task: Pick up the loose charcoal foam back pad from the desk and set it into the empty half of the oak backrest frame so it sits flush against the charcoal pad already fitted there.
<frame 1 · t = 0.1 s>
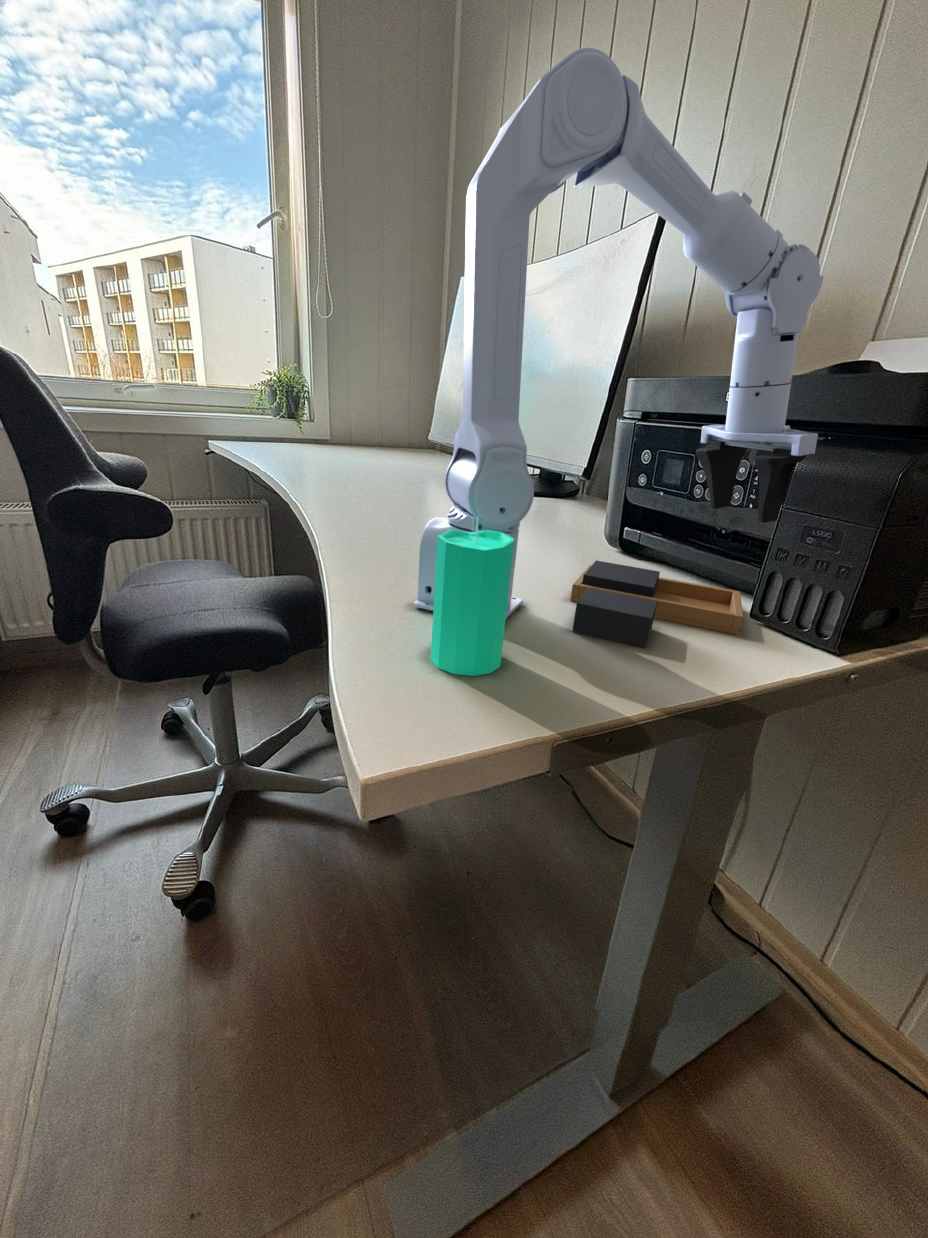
hand: (743, 513, 63), 11 cm above the table, tool pointing down, fingers open, 7 cm apart
pad a: (618, 597, 64), resting on frame
pad b: (612, 630, 55), on the table
candle: (465, 661, 46), on the table
frame: (654, 604, 63), on the table
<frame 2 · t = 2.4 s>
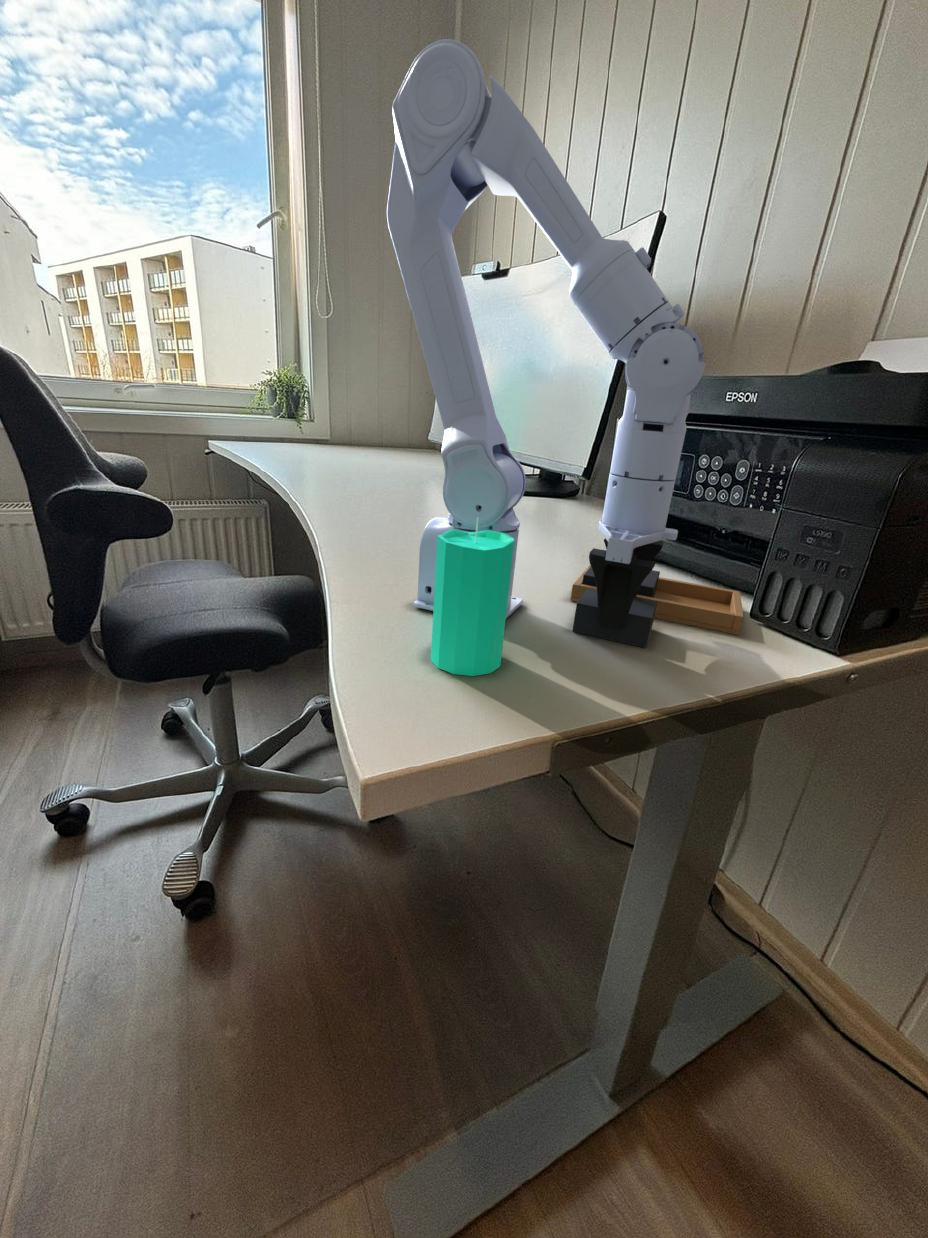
hand: (615, 617, 54), 1 cm above the table, tool pointing down, fingers closed on pad b, 5 cm apart
pad b: (612, 630, 55), on the table, touching gripper
everything else where it was.
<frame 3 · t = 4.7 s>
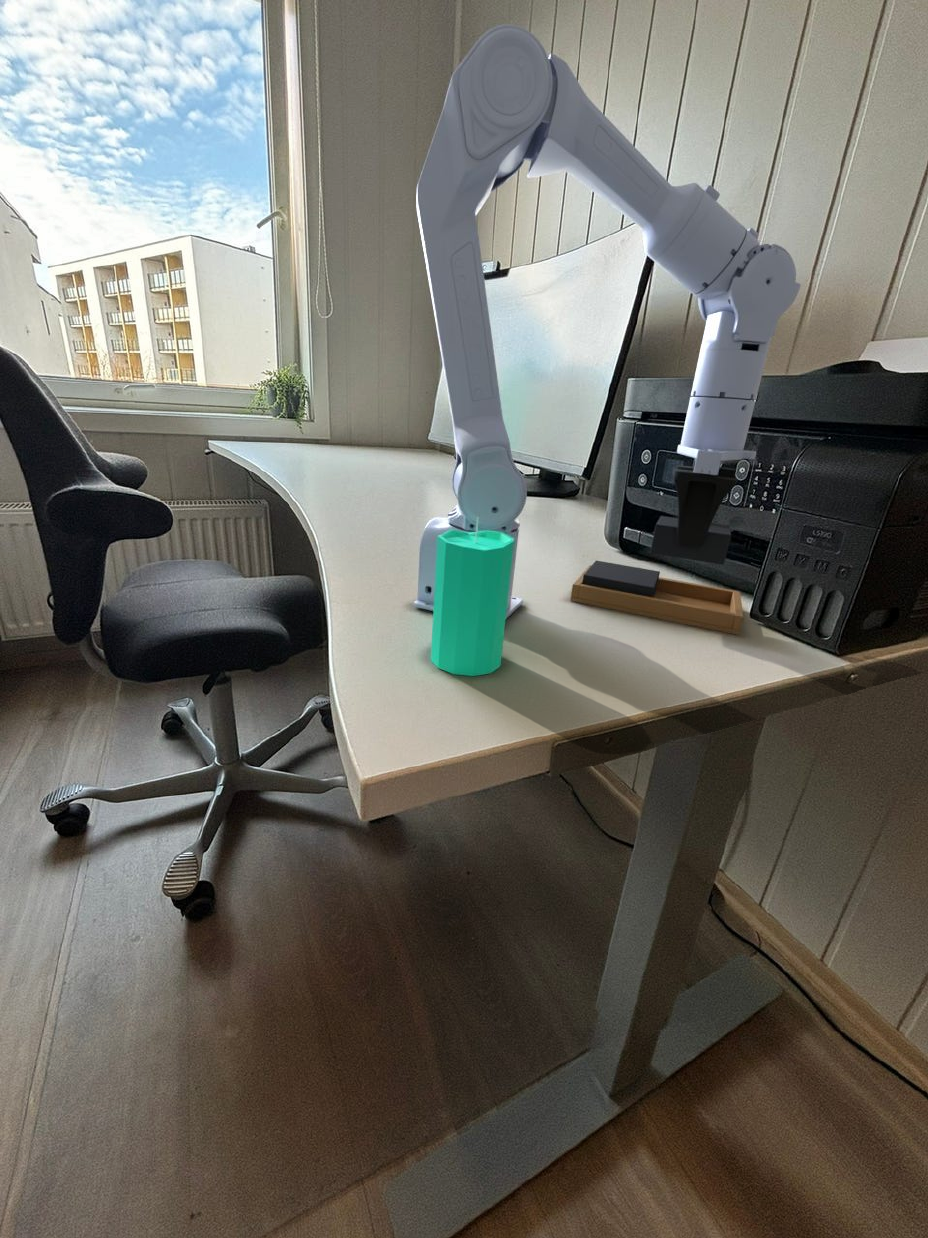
hand: (690, 539, 57), 8 cm above the table, tool pointing down, fingers closed on pad b, 5 cm apart
pad b: (687, 553, 57), point 7 cm above the table, touching gripper
everything else where it was.
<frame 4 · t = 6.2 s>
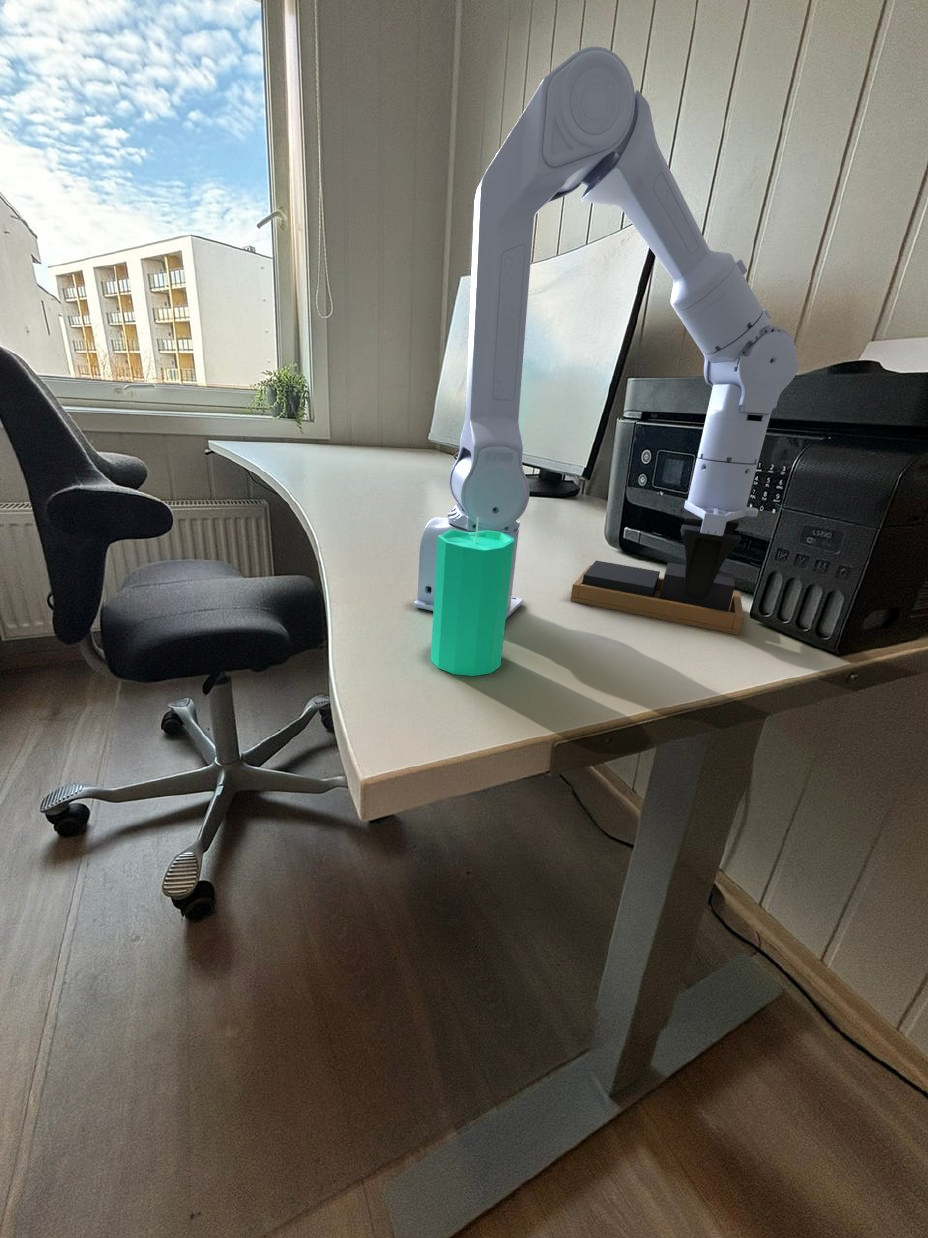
hand: (695, 587, 61), 3 cm above the table, tool pointing down, fingers closed on pad b, 5 cm apart
pad b: (693, 599, 61), point 1 cm above the table, touching gripper
everything else where it was.
when the fingers open (2 cm above the table, at t = 7.5 s): pad b stays where it is, resting on frame.
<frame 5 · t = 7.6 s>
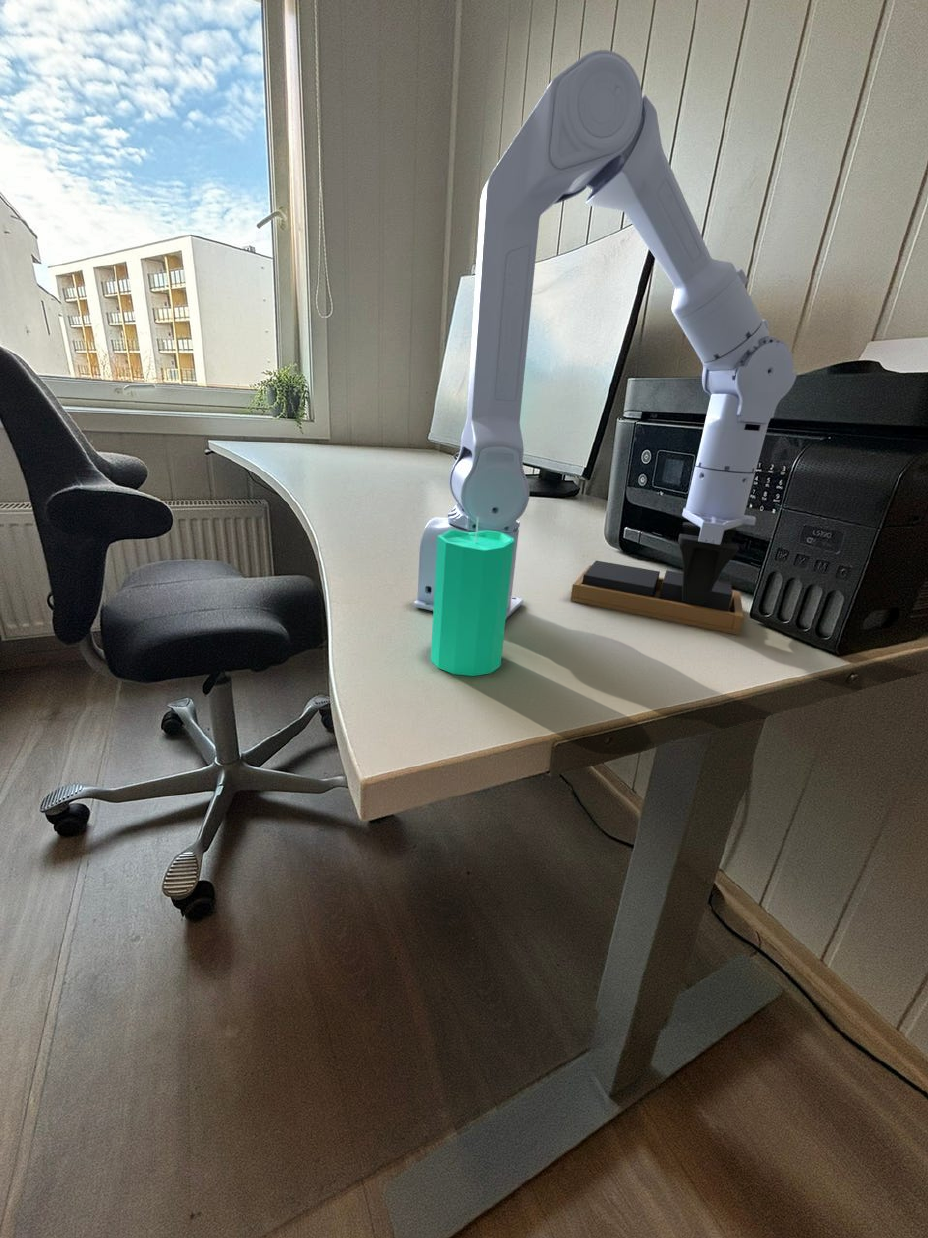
hand: (693, 594, 61), 2 cm above the table, tool pointing down, fingers open, 7 cm apart
pad b: (691, 607, 61), resting on frame
everything else where it was.
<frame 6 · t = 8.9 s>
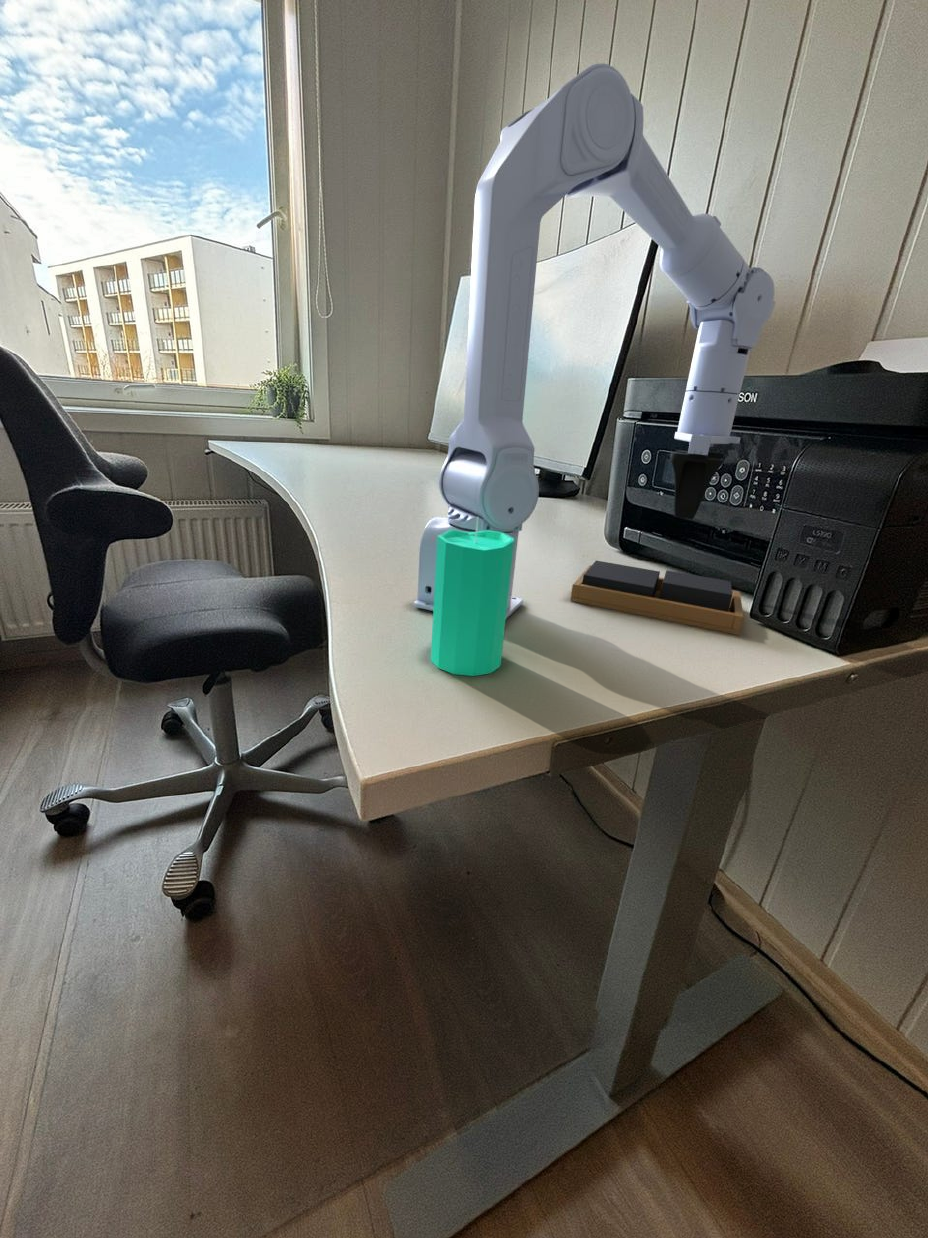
hand: (685, 512, 67), 9 cm above the table, tool pointing down, fingers open, 7 cm apart
nothing on the table moved.
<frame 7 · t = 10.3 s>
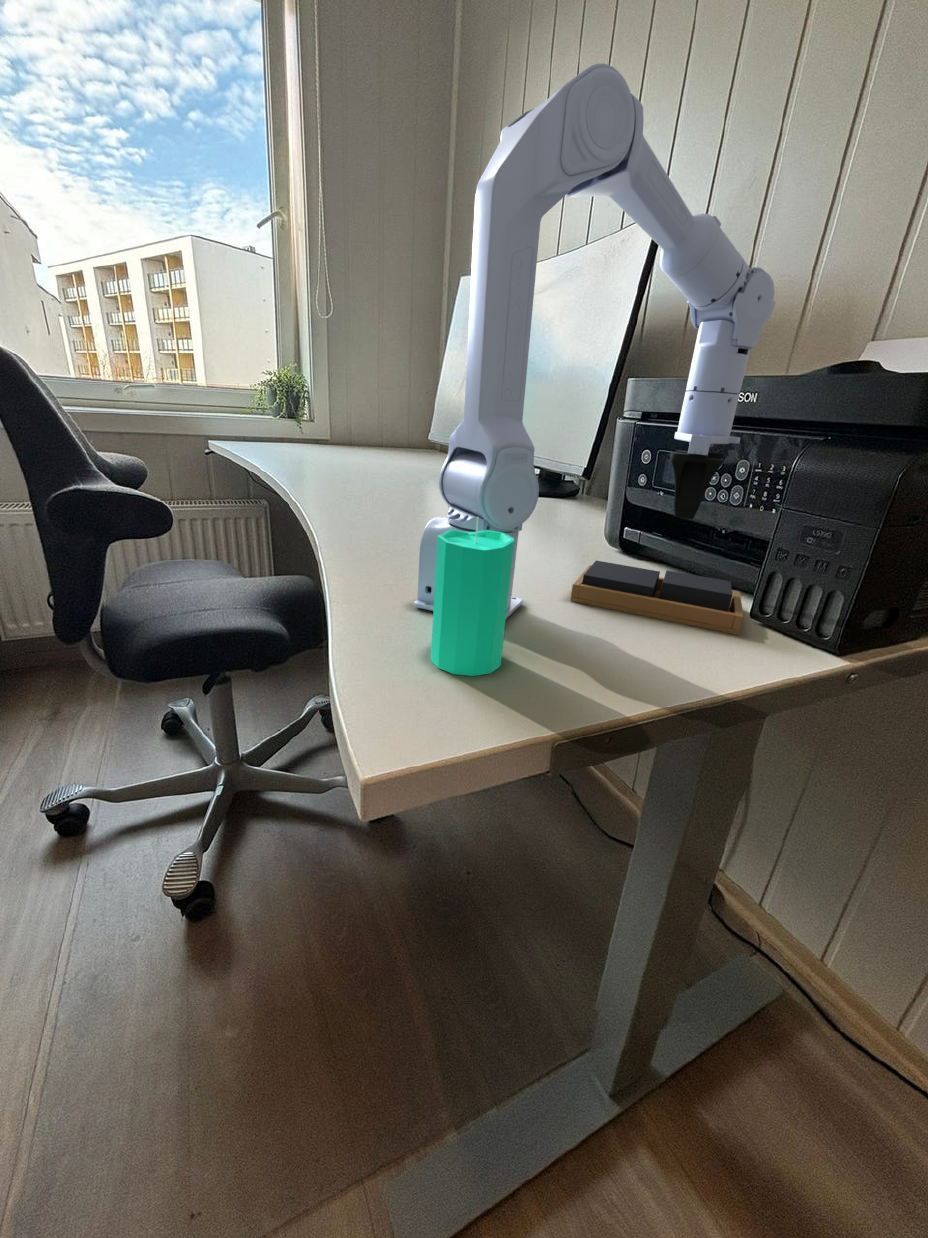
hand: (685, 512, 67), 9 cm above the table, tool pointing down, fingers open, 7 cm apart
nothing on the table moved.
at the end: pad b 0.0 cm from the target spot in the frame, point 0.5 cm above the frame's base; pad b tilted 0°; the gripper is holding nothing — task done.
